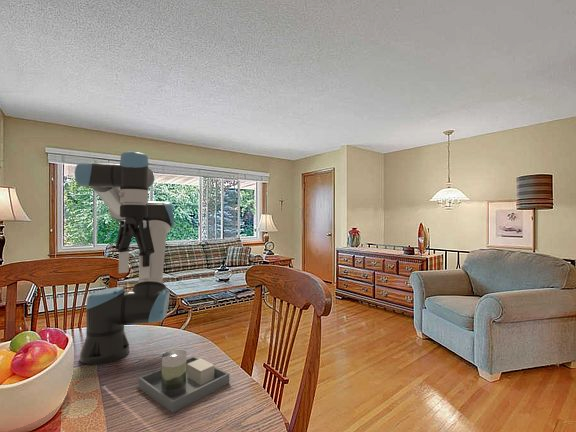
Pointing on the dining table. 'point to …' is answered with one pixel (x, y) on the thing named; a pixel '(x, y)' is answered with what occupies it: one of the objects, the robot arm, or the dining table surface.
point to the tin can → (173, 373)
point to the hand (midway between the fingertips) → (133, 275)
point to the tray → (191, 394)
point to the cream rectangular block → (200, 371)
